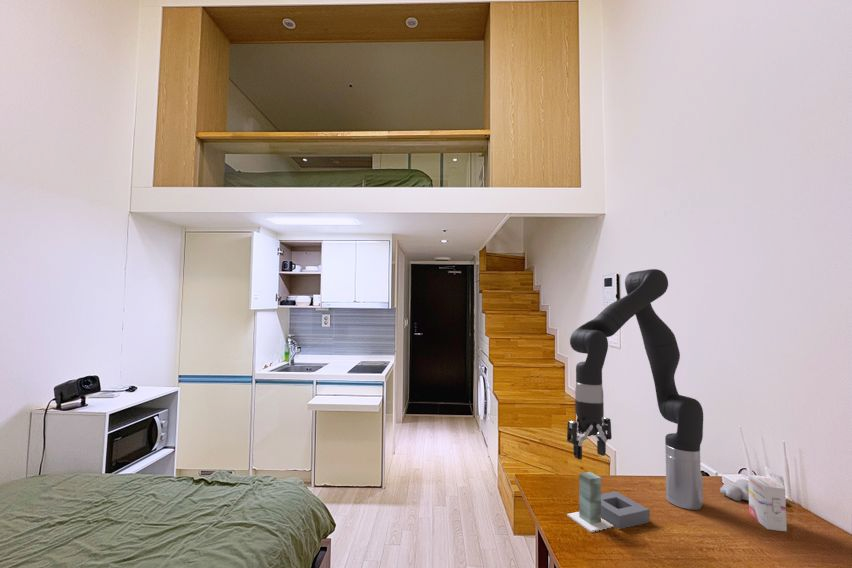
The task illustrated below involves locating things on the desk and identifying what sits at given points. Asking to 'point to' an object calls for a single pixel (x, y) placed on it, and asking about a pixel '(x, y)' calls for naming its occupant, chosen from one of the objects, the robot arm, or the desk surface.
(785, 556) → the desk surface
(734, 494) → the bunny figurine
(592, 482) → the peg
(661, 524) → the desk surface
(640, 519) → the pocket holder
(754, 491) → the ink cartridge box
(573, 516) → the mat
